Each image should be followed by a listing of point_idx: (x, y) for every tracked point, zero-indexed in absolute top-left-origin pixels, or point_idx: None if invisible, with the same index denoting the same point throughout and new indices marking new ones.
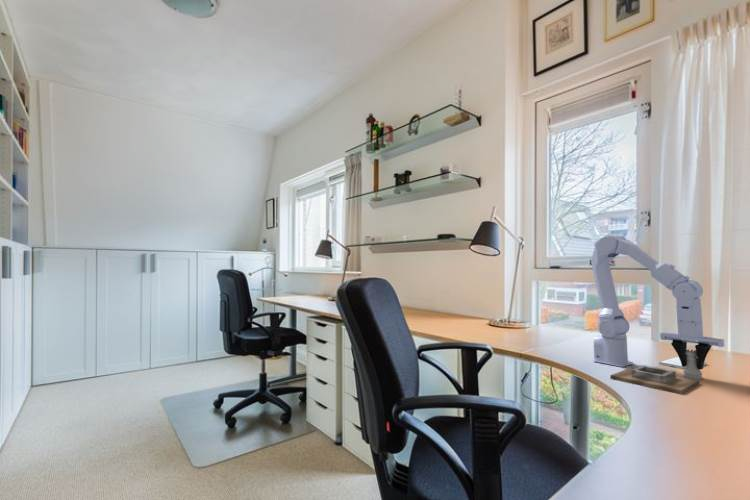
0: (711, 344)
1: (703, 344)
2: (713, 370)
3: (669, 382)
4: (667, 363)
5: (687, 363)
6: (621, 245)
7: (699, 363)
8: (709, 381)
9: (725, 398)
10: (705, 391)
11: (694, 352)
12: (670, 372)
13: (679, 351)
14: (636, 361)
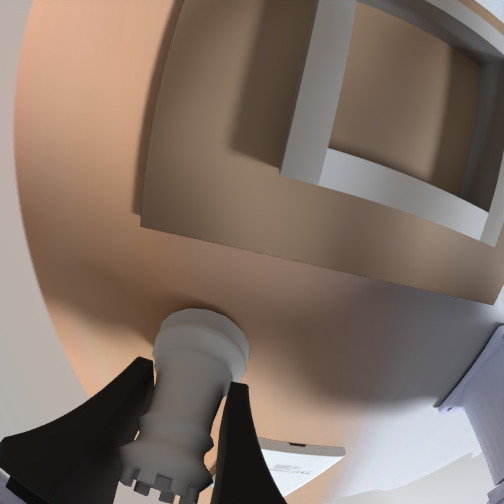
0: (2, 479)
1: (33, 499)
2: None
3: (302, 12)
4: (317, 454)
5: (207, 400)
6: None
7: (121, 381)
8: (131, 308)
9: (58, 24)
10: (114, 59)
11: (126, 468)
12: (315, 86)
13: (243, 484)
14: (413, 436)
